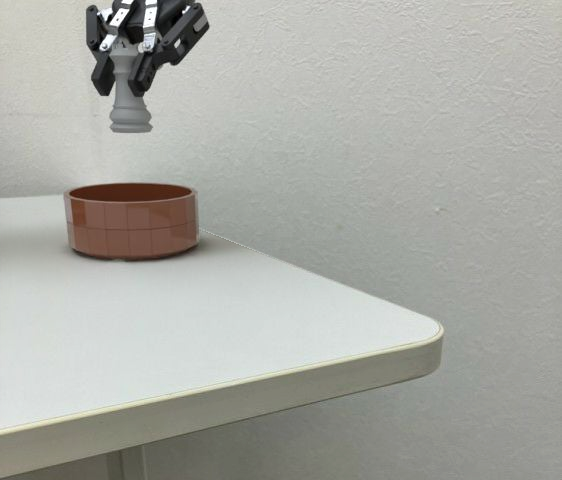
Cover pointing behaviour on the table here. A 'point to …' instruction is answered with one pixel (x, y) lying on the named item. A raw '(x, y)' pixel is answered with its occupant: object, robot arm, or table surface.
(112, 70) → the robot arm
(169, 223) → the bowl
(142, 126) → the rook chess piece
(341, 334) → the table surface
